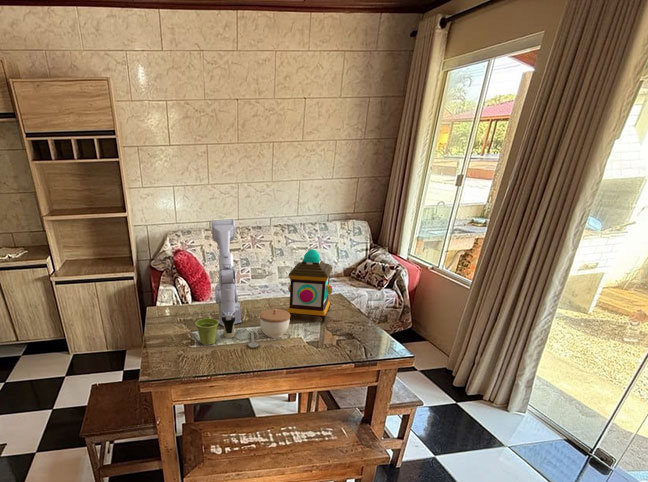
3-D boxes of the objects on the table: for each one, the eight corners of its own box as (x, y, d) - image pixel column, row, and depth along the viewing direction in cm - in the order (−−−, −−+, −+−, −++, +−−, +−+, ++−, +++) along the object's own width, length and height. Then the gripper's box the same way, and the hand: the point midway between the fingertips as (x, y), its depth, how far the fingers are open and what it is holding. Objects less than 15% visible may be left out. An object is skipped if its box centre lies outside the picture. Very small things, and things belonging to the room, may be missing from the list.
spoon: (247, 333, 174) (247, 331, 173) (257, 332, 174) (257, 331, 173) (247, 348, 161) (247, 346, 160) (259, 348, 160) (259, 346, 160)
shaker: (231, 332, 175) (230, 312, 171) (236, 336, 171) (236, 316, 167) (222, 335, 173) (221, 315, 169) (227, 338, 170) (226, 318, 165)
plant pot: (222, 338, 170) (221, 319, 165) (214, 348, 162) (213, 328, 158) (202, 336, 173) (200, 317, 168) (193, 345, 165) (191, 325, 161)
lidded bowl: (293, 330, 174) (294, 306, 169) (284, 342, 164) (284, 316, 159) (265, 327, 179) (265, 303, 174) (255, 338, 169) (254, 313, 164)
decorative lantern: (291, 306, 201) (294, 243, 186) (332, 309, 195) (338, 245, 180) (282, 320, 185) (284, 253, 170) (326, 324, 179) (333, 255, 164)
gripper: (238, 304, 158) (239, 336, 165) (237, 292, 171) (238, 323, 177) (220, 305, 158) (221, 337, 165) (220, 293, 171) (222, 323, 177)
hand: (229, 329), depth 171 cm, fingers open, 6 cm apart
